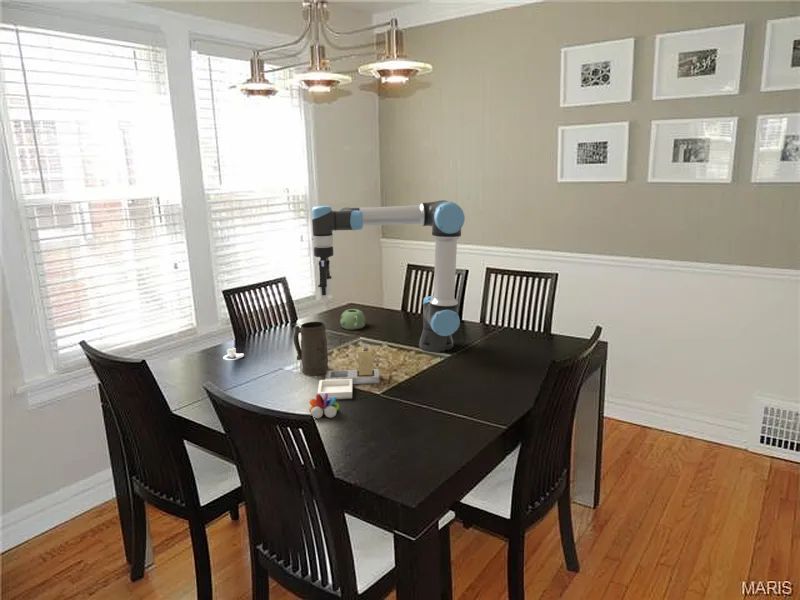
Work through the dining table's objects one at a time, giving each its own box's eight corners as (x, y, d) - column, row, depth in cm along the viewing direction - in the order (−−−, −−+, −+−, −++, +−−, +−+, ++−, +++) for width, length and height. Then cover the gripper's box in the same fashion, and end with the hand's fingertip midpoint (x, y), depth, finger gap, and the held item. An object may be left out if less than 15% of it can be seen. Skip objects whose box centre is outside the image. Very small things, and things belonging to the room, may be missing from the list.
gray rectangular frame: (378, 374, 210) (378, 368, 209) (379, 382, 202) (379, 376, 201) (326, 376, 208) (326, 370, 208) (325, 385, 200) (325, 378, 200)
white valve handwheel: (247, 357, 231) (246, 348, 230) (230, 362, 225) (229, 353, 224) (236, 353, 237) (235, 344, 236) (219, 358, 231) (218, 349, 230)
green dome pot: (337, 325, 276) (337, 308, 274) (362, 322, 280) (361, 306, 278) (345, 333, 261) (344, 316, 259) (370, 331, 265) (370, 314, 263)
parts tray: (352, 385, 200) (352, 378, 200) (352, 398, 188) (352, 391, 188) (319, 386, 199) (319, 380, 199) (317, 400, 188) (317, 393, 187)
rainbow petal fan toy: (310, 409, 181) (309, 389, 179) (339, 407, 182) (338, 387, 180) (308, 420, 173) (307, 399, 171) (338, 419, 174) (338, 398, 172)
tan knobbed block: (372, 376, 208) (371, 346, 205) (372, 381, 203) (371, 350, 200) (359, 377, 208) (358, 346, 205) (359, 382, 203) (358, 351, 200)
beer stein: (334, 367, 217) (329, 320, 213) (322, 376, 208) (317, 328, 204) (302, 365, 223) (296, 320, 218) (288, 375, 213) (282, 327, 209)
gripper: (316, 241, 223) (319, 292, 228) (310, 251, 199) (313, 307, 204) (334, 241, 223) (337, 291, 228) (330, 250, 199) (333, 306, 204)
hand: (326, 298), depth 216 cm, fingers open, 13 cm apart
